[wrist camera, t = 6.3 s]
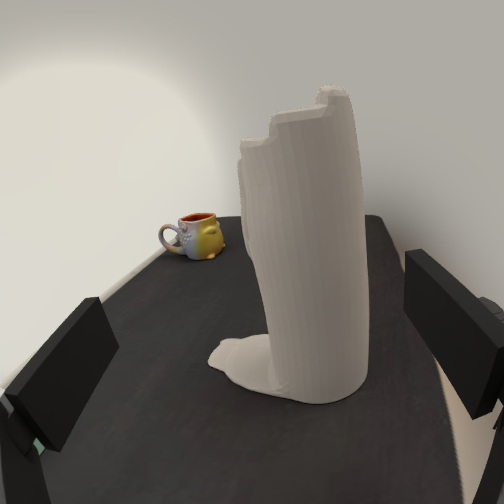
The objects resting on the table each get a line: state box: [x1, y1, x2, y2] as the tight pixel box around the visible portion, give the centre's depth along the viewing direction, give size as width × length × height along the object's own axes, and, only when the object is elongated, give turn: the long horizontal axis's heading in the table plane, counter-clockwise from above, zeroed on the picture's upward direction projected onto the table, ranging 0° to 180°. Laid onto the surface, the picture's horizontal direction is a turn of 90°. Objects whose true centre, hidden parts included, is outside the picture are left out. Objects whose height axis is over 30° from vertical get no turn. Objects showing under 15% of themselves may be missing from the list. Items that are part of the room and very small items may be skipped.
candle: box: [208, 85, 369, 404], centre depth 22 cm, size 7×14×20 cm, turn 62°
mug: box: [159, 213, 225, 260], centre depth 55 cm, size 12×7×7 cm, turn 70°
